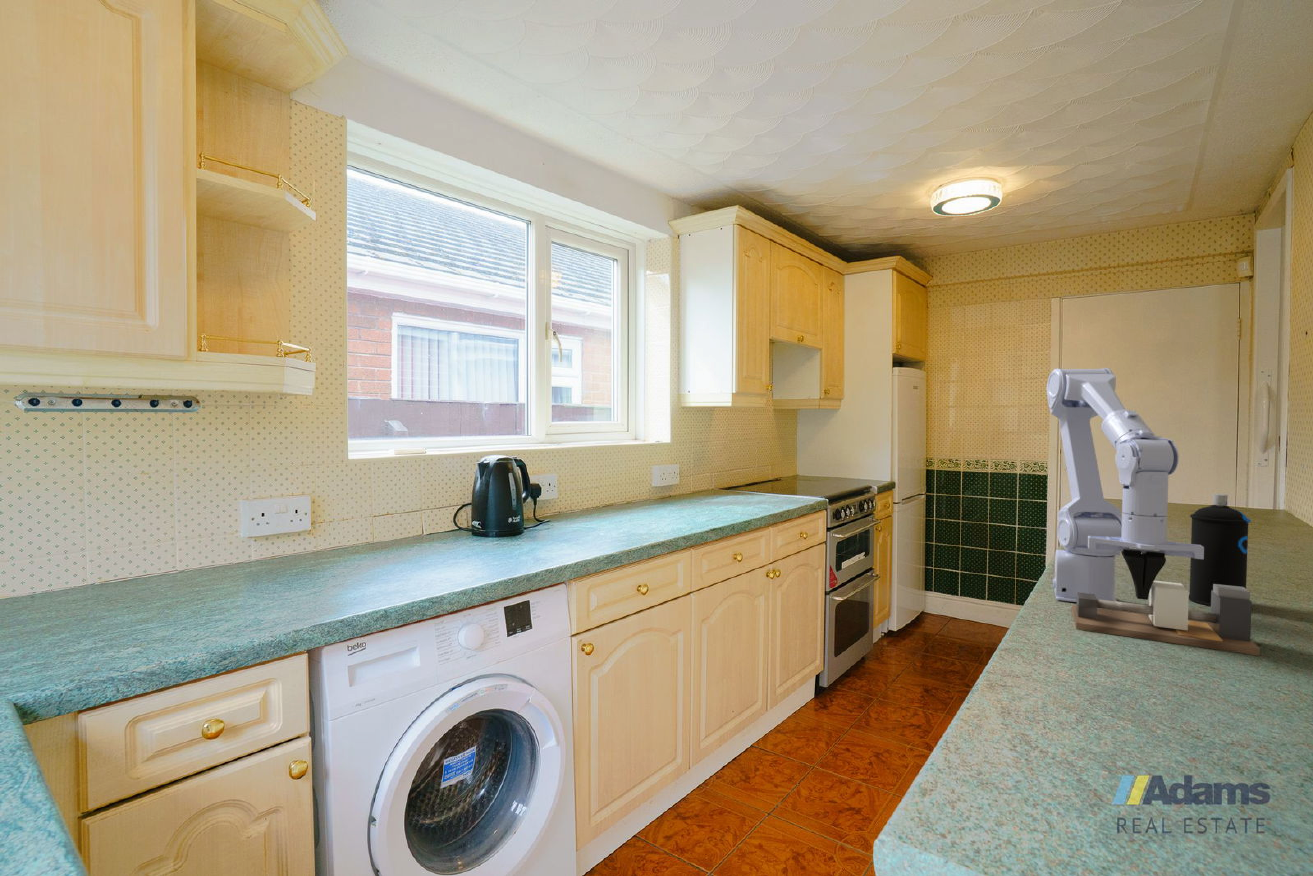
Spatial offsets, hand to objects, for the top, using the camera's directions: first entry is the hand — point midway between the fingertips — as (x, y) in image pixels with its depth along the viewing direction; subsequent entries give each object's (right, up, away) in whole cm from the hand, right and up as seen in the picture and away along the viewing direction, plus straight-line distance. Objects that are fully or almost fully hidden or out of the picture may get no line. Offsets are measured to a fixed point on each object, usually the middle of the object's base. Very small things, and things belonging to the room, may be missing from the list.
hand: (1141, 597), depth 100 cm
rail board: (+2, -5, -1) cm, 5 cm away
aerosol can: (+25, -5, +14) cm, 29 cm away
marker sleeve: (+3, -4, -2) cm, 5 cm away
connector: (+9, -5, -5) cm, 12 cm away
